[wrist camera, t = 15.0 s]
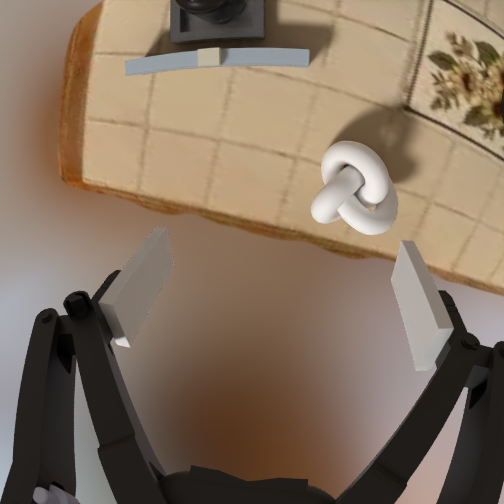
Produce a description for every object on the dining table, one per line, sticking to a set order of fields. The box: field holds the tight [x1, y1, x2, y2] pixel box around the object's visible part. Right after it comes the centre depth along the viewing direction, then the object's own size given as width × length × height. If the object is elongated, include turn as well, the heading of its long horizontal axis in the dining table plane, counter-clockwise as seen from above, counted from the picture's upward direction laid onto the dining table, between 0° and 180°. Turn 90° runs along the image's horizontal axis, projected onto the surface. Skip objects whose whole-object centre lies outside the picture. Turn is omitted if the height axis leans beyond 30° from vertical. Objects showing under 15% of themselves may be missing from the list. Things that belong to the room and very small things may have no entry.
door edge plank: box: [125, 48, 309, 76], centre depth 32 cm, size 22×2×6 cm, turn 90°
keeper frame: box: [170, 0, 265, 44], centre depth 29 cm, size 12×12×2 cm
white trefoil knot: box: [311, 141, 398, 235], centre depth 38 cm, size 11×12×9 cm
